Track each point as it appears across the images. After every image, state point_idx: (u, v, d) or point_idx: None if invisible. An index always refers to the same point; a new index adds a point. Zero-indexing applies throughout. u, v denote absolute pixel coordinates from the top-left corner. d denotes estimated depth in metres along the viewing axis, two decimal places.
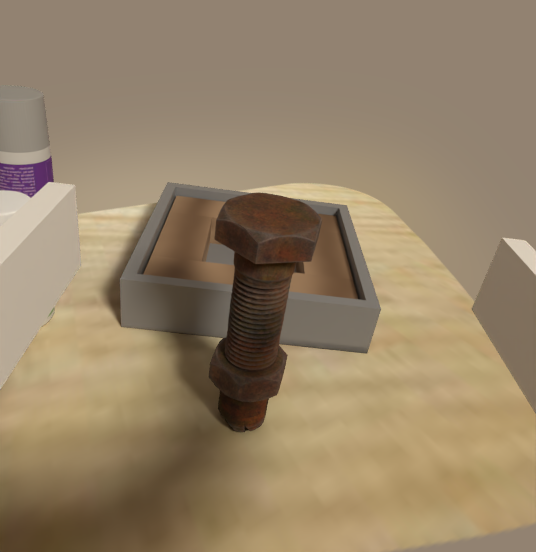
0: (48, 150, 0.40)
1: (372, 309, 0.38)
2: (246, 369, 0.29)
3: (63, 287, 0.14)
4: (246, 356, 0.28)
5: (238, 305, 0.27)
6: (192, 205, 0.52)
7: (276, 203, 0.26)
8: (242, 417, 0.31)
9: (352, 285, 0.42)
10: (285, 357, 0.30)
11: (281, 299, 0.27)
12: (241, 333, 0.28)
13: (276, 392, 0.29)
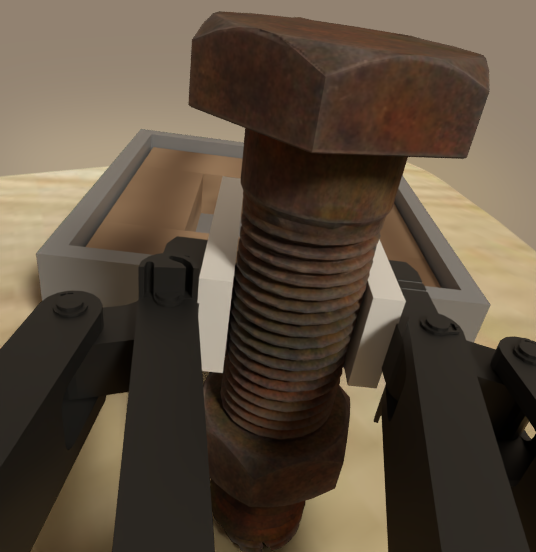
0: None
1: (475, 305, 0.22)
2: (270, 437, 0.13)
3: None
4: (269, 410, 0.12)
5: (253, 290, 0.11)
6: (175, 158, 0.36)
7: (349, 29, 0.10)
8: (257, 528, 0.15)
9: (427, 268, 0.26)
10: (348, 403, 0.14)
11: (360, 275, 0.11)
12: (259, 358, 0.12)
13: (334, 483, 0.13)
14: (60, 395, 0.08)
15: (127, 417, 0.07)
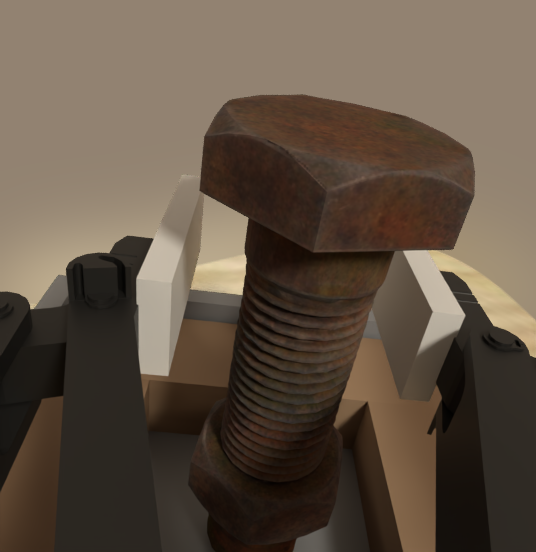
0: None
1: None
2: (267, 479, 0.14)
3: (194, 267, 0.16)
4: (266, 456, 0.13)
5: (254, 350, 0.12)
6: None
7: (348, 113, 0.11)
8: None
9: None
10: (341, 444, 0.15)
11: (354, 338, 0.12)
12: (259, 410, 0.12)
13: (326, 522, 0.14)
14: None
15: (63, 426, 0.07)
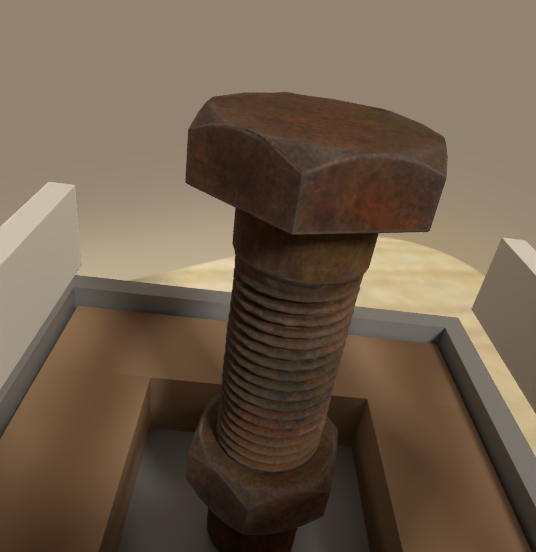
0: None
1: None
2: (262, 469, 0.14)
3: (63, 287, 0.14)
4: (260, 445, 0.13)
5: (244, 339, 0.12)
6: (108, 336, 0.22)
7: (329, 107, 0.12)
8: None
9: None
10: (335, 435, 0.16)
11: (341, 325, 0.12)
12: (251, 399, 0.13)
13: (322, 512, 0.14)
14: None
15: None
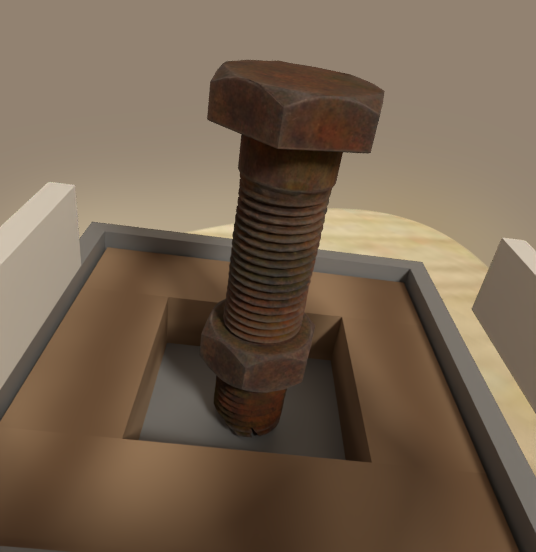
0: None
1: None
2: (257, 342, 0.19)
3: (63, 287, 0.14)
4: (256, 322, 0.18)
5: (245, 238, 0.17)
6: (133, 269, 0.27)
7: (308, 71, 0.16)
8: (248, 416, 0.21)
9: (491, 498, 0.17)
10: (313, 327, 0.20)
11: (314, 227, 0.17)
12: (249, 284, 0.18)
13: (301, 378, 0.19)
14: None
15: None
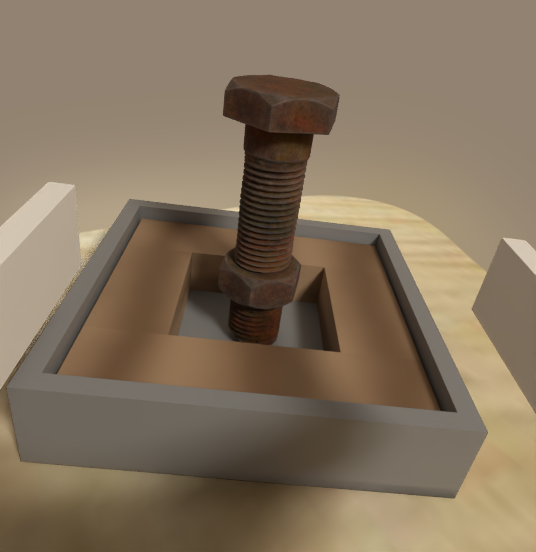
0: None
1: (472, 433, 0.21)
2: (258, 272, 0.27)
3: (63, 287, 0.14)
4: (258, 257, 0.26)
5: (249, 196, 0.25)
6: (164, 233, 0.35)
7: (289, 81, 0.24)
8: (253, 331, 0.29)
9: (422, 373, 0.25)
10: (299, 265, 0.28)
11: (296, 187, 0.25)
12: (252, 229, 0.26)
13: (290, 299, 0.27)
14: None
15: None
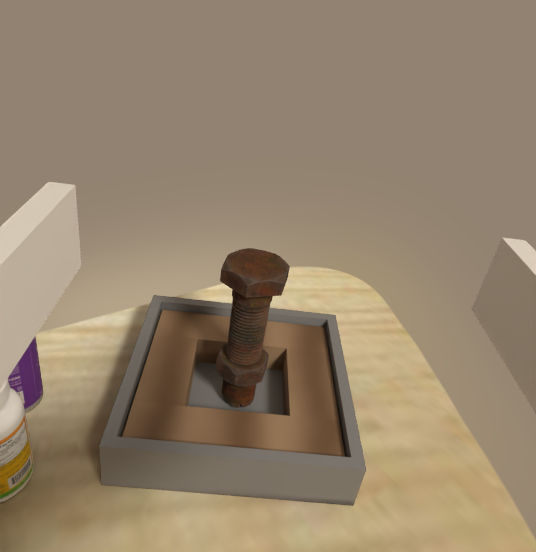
0: None
1: (357, 469, 0.37)
2: (241, 364, 0.43)
3: (63, 287, 0.14)
4: (240, 356, 0.43)
5: (235, 322, 0.41)
6: (178, 323, 0.51)
7: (259, 256, 0.41)
8: (238, 397, 0.45)
9: (338, 429, 0.41)
10: (267, 356, 0.45)
11: (263, 318, 0.41)
12: (237, 340, 0.42)
13: (261, 380, 0.44)
14: None
15: None
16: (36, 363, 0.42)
